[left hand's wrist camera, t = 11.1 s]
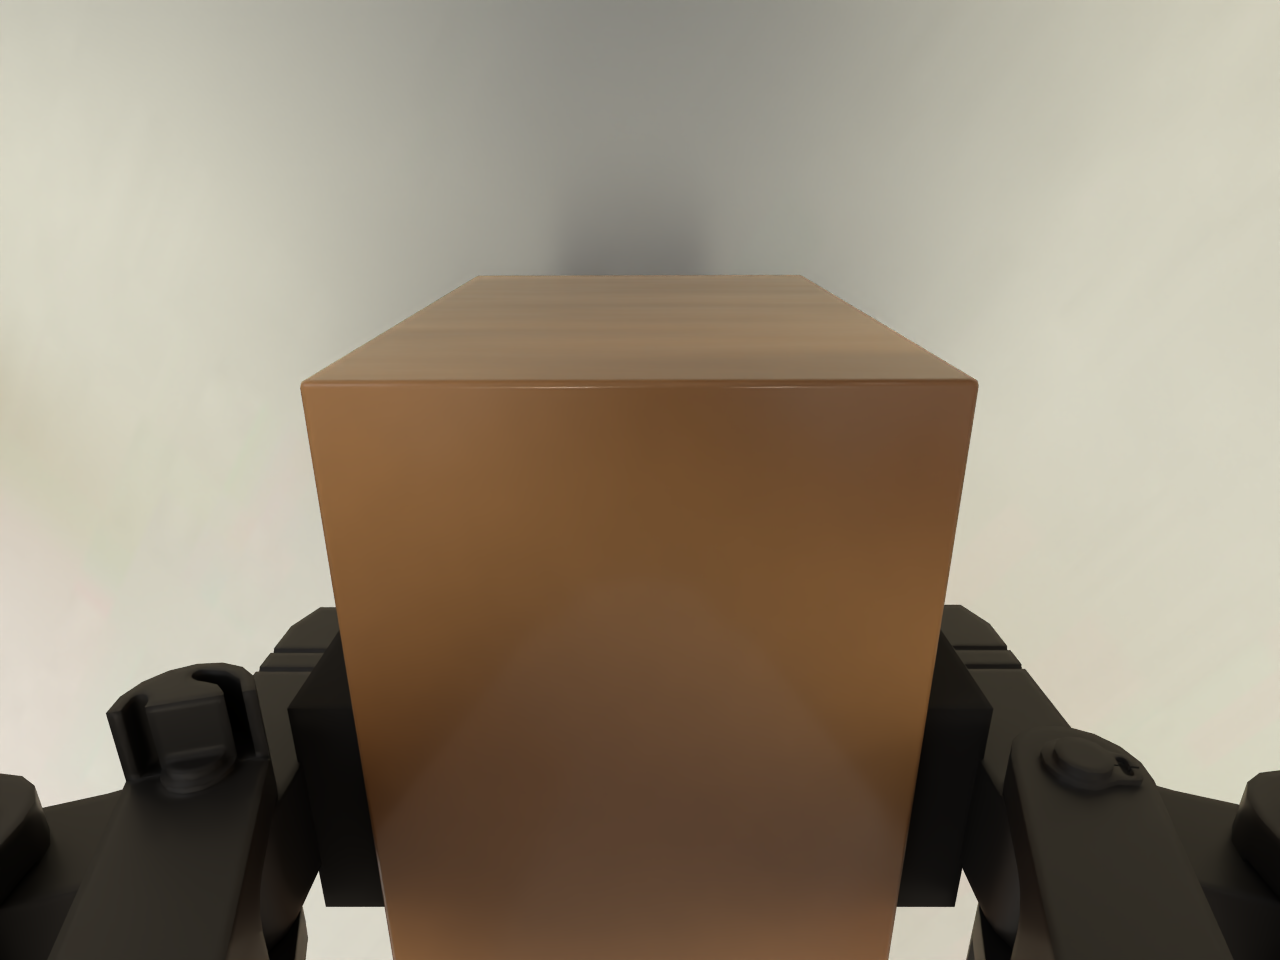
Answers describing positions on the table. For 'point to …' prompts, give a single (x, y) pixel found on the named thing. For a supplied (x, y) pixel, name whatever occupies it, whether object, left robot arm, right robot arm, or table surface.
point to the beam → (640, 612)
